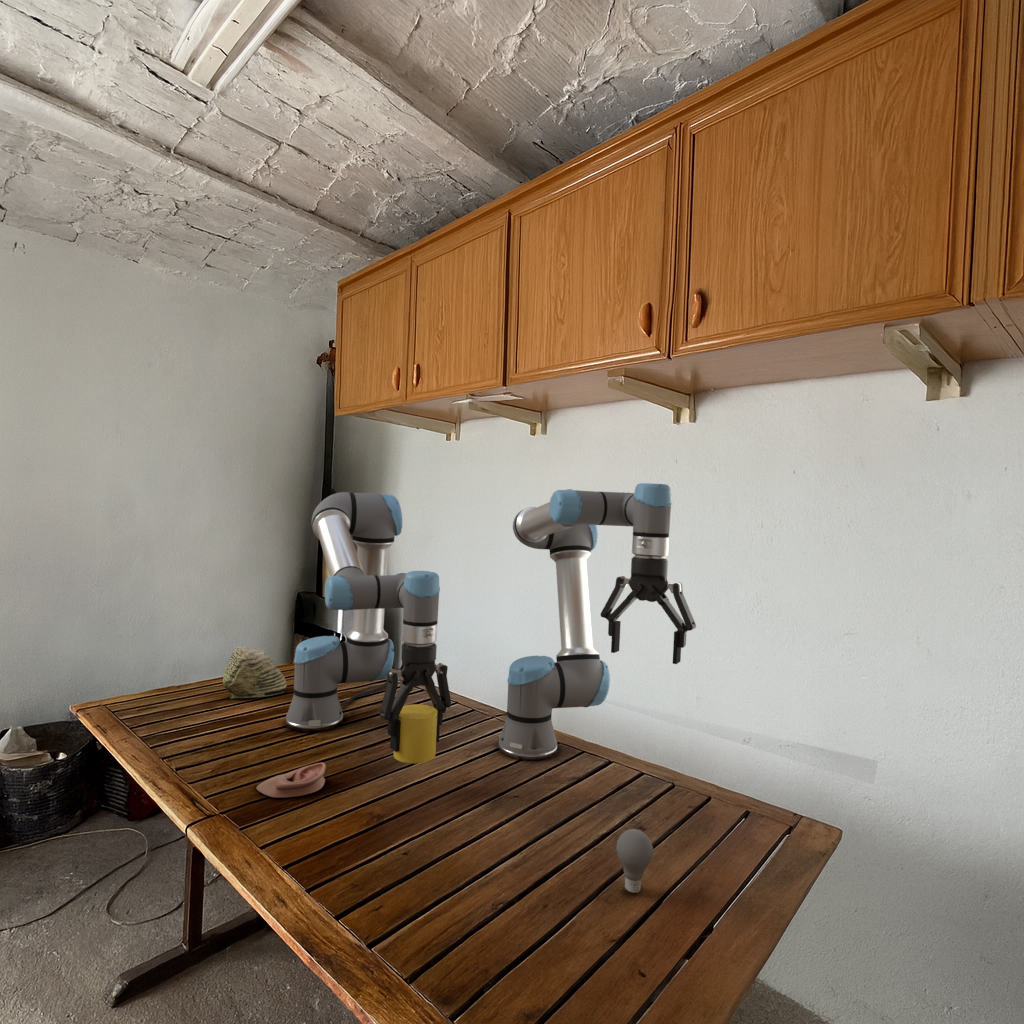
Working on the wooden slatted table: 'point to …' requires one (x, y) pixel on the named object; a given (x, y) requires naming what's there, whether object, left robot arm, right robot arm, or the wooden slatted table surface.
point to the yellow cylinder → (417, 734)
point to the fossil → (252, 674)
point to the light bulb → (634, 857)
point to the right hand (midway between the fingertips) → (644, 657)
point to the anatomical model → (295, 782)
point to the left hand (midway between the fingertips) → (414, 744)
